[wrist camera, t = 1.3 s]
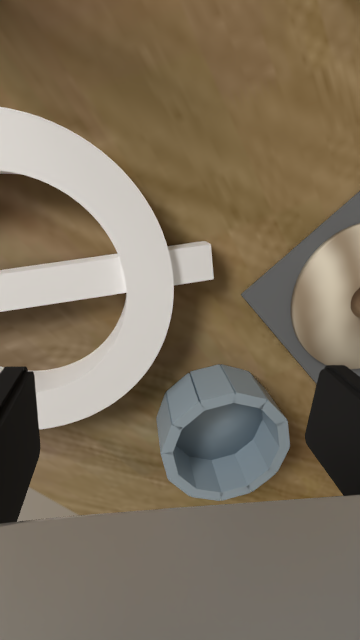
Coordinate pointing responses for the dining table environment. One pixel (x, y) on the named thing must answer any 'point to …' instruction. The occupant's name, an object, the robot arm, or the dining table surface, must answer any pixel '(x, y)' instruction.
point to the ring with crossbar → (96, 267)
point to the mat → (278, 283)
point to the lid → (330, 301)
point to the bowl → (220, 433)
